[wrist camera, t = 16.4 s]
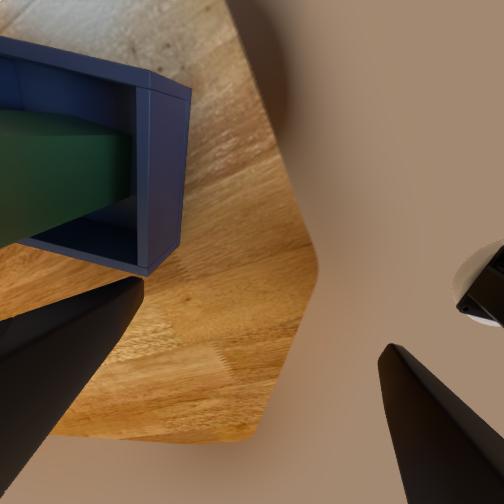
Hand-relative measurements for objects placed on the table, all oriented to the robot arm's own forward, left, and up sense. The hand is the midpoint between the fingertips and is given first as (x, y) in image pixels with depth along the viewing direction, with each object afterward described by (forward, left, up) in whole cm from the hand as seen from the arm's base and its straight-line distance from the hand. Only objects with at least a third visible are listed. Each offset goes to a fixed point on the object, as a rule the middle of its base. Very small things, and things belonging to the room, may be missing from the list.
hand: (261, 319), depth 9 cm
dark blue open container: (+15, -1, -13) cm, 20 cm away
